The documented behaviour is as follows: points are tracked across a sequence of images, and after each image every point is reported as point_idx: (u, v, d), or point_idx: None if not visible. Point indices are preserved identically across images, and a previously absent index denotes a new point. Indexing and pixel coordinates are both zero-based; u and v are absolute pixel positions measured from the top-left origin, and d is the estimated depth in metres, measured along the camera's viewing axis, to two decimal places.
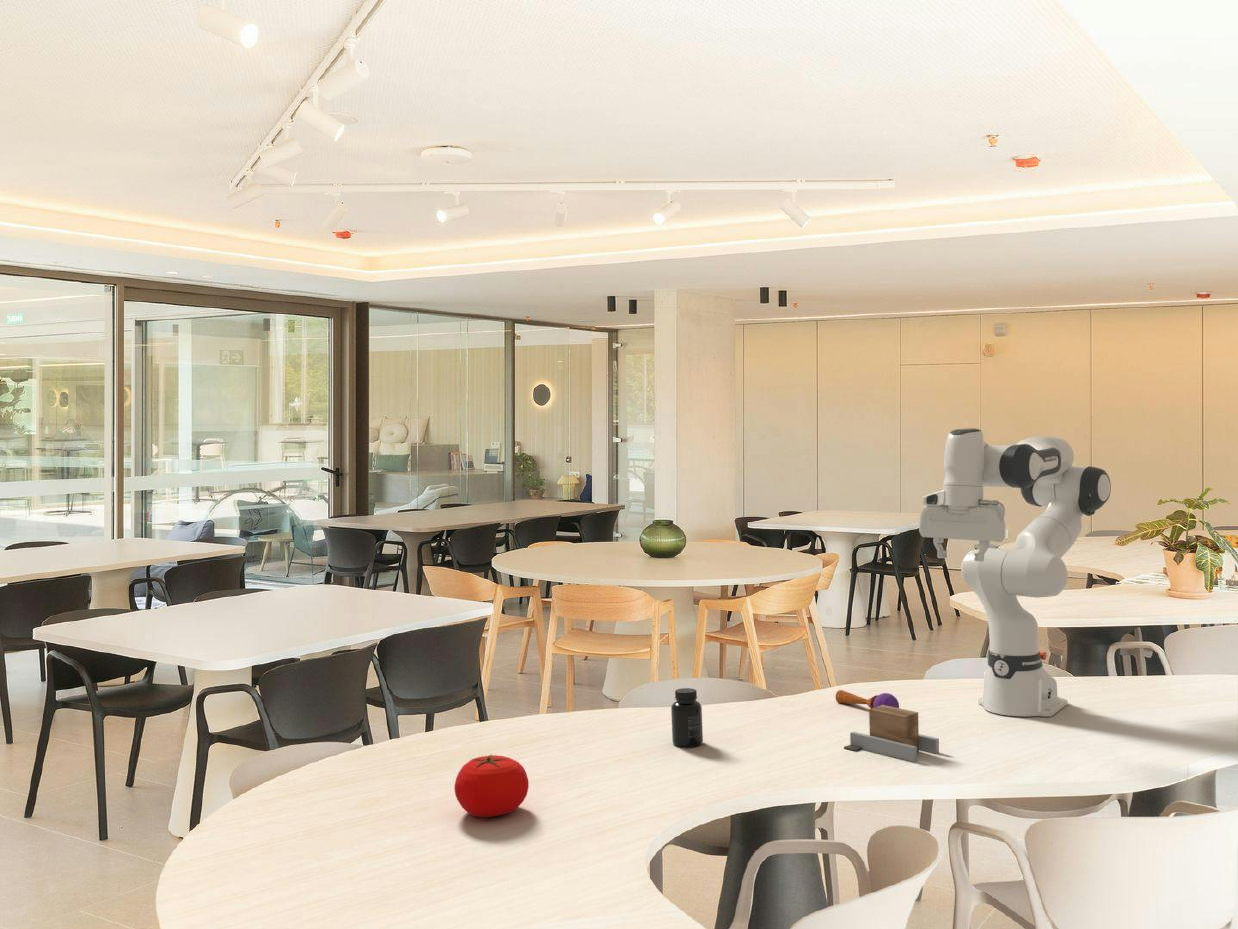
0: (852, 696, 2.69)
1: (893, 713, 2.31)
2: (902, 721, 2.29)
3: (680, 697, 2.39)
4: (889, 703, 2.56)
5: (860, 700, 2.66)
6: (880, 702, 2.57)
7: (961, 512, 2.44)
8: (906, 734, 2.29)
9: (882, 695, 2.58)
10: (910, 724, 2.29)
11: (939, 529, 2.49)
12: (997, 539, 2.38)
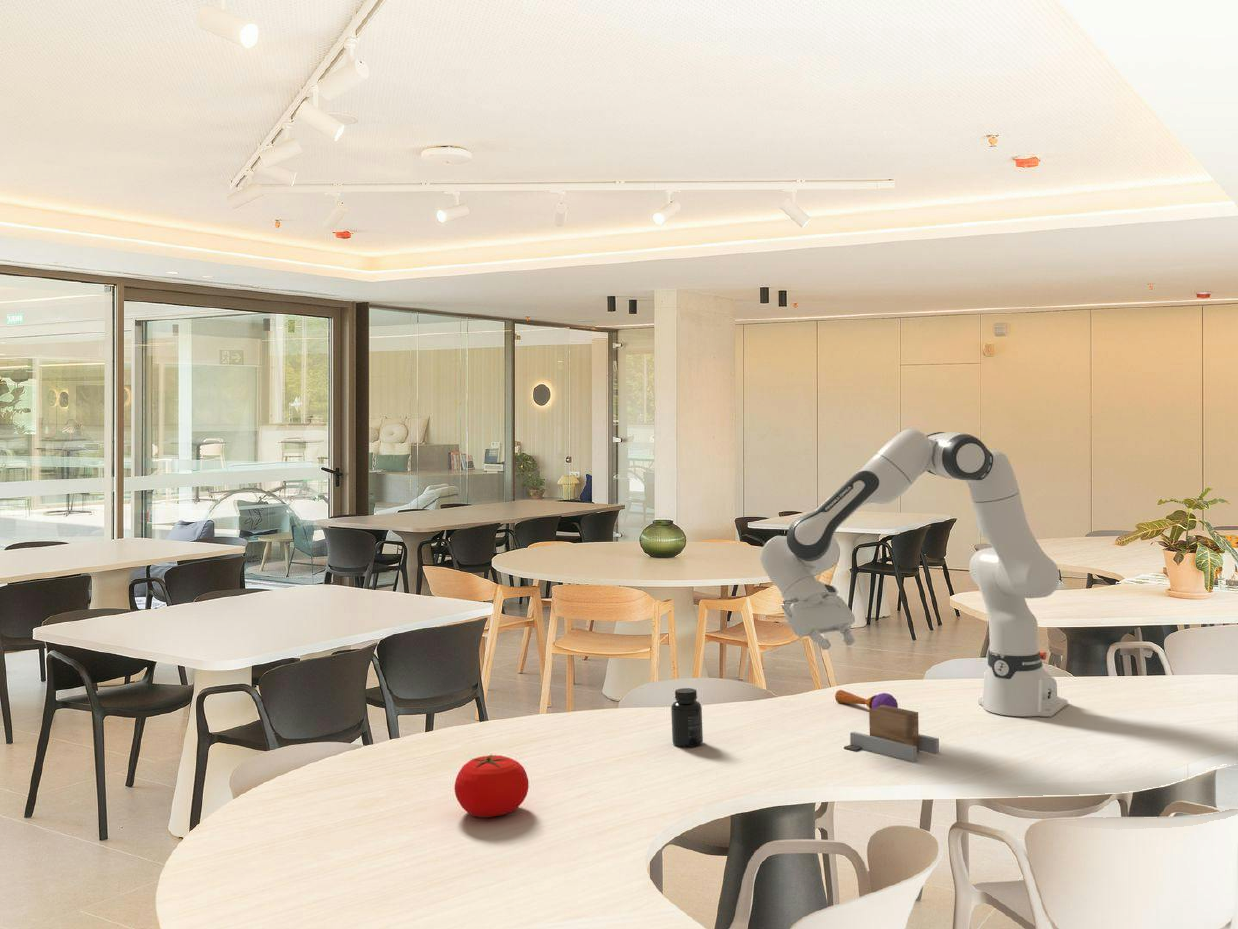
0: (852, 696, 2.69)
1: (893, 713, 2.31)
2: (902, 721, 2.29)
3: (680, 697, 2.39)
4: (888, 703, 2.56)
5: (859, 700, 2.66)
6: (879, 702, 2.57)
7: None
8: (906, 734, 2.29)
9: (881, 695, 2.58)
10: (910, 724, 2.29)
11: None
12: (798, 635, 2.42)
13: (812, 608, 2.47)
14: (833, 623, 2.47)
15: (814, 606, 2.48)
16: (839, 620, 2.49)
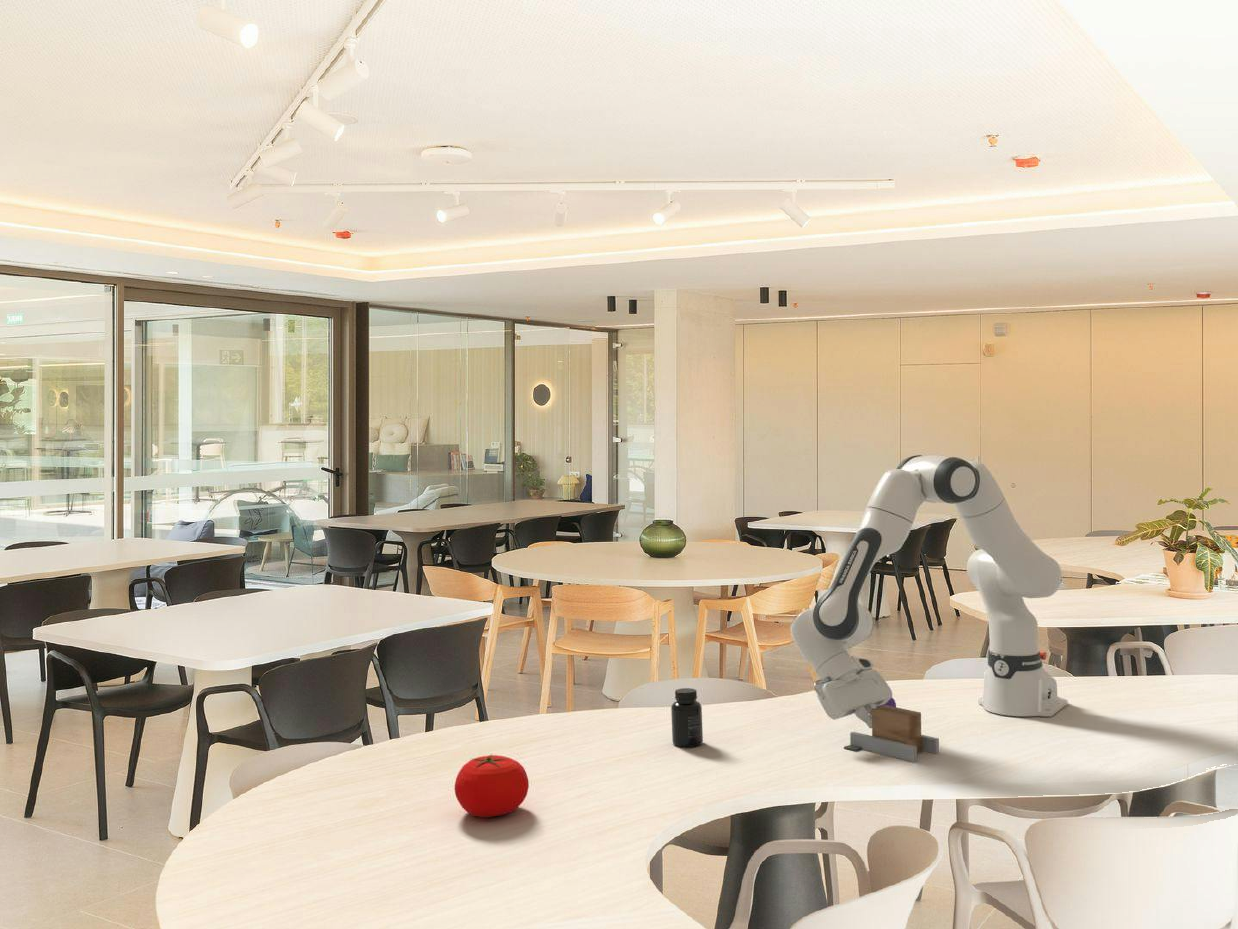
0: None
1: (896, 713, 2.31)
2: (904, 721, 2.28)
3: (680, 697, 2.39)
4: (886, 703, 2.56)
5: None
6: None
7: None
8: (909, 734, 2.28)
9: None
10: (912, 724, 2.29)
11: None
12: (832, 717, 2.34)
13: (846, 687, 2.39)
14: (869, 701, 2.39)
15: (848, 684, 2.40)
16: (875, 697, 2.41)
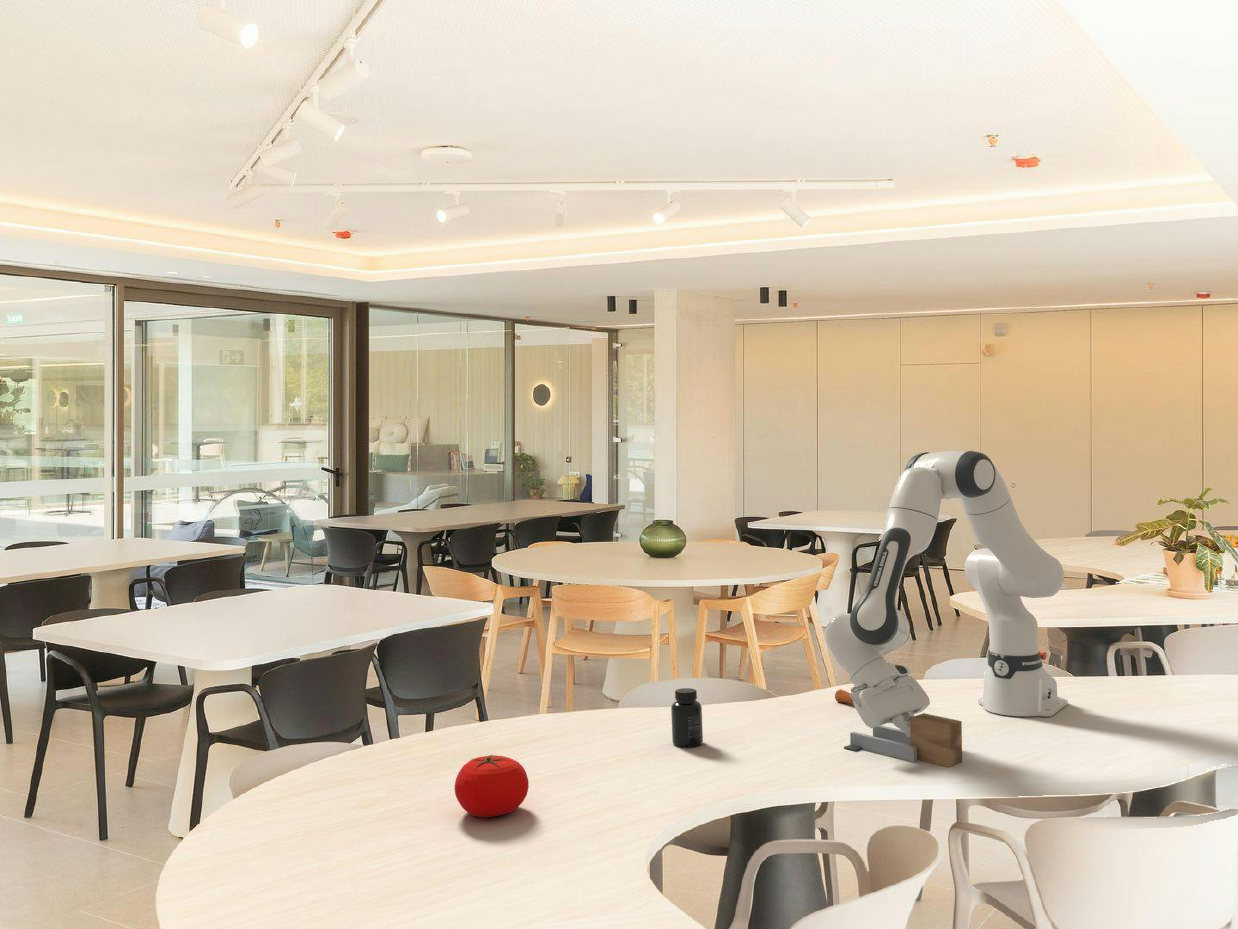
0: None
1: (936, 722, 2.23)
2: (945, 730, 2.21)
3: (680, 697, 2.39)
4: None
5: None
6: None
7: None
8: (949, 744, 2.21)
9: None
10: (953, 733, 2.22)
11: None
12: (869, 726, 2.26)
13: (882, 694, 2.32)
14: (906, 709, 2.31)
15: (885, 691, 2.32)
16: (913, 705, 2.33)
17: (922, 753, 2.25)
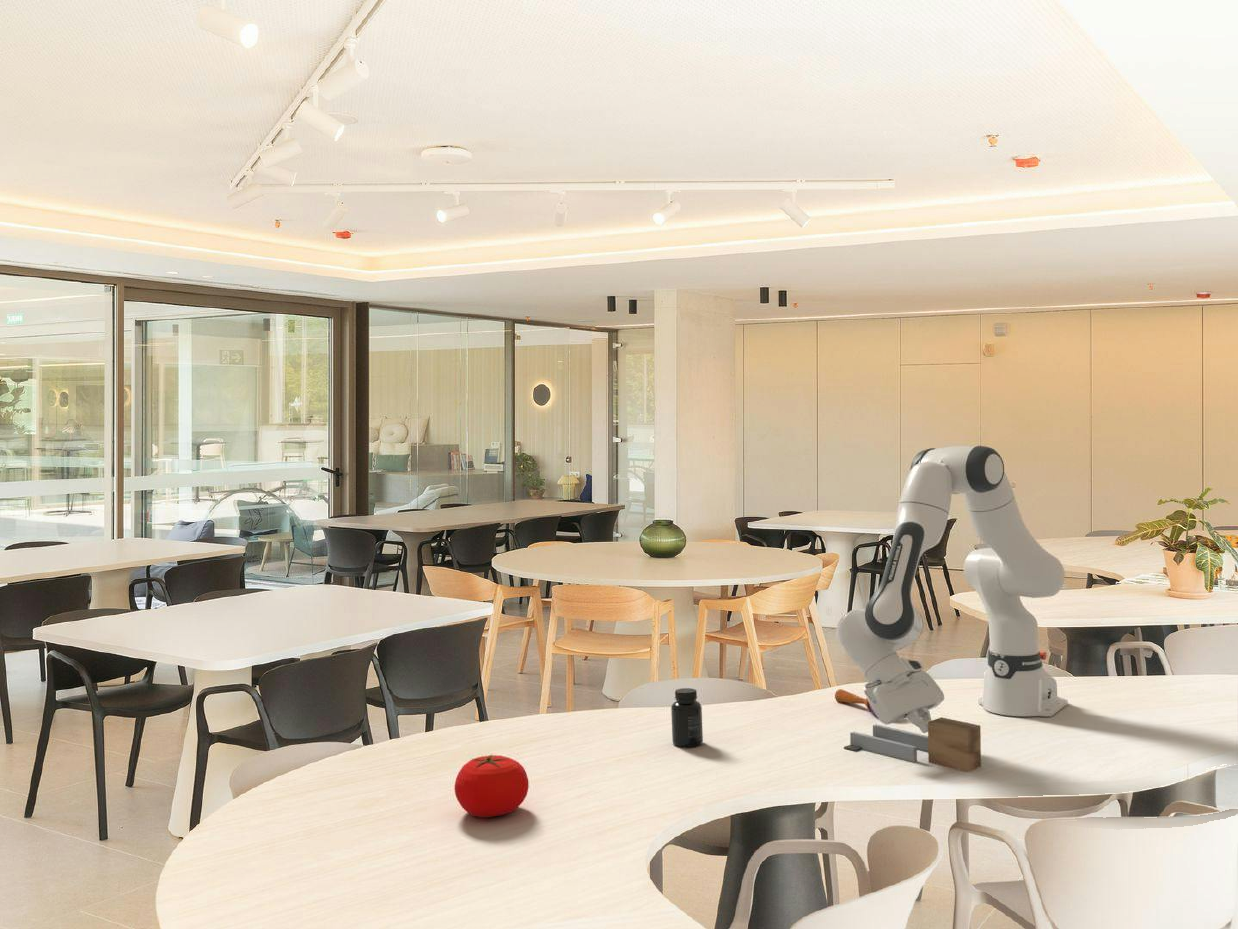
0: (851, 695, 2.70)
1: (954, 726, 2.20)
2: (964, 735, 2.18)
3: (680, 697, 2.39)
4: None
5: (858, 699, 2.67)
6: None
7: None
8: (968, 749, 2.18)
9: None
10: (972, 738, 2.18)
11: None
12: (884, 722, 2.24)
13: (897, 690, 2.29)
14: (921, 705, 2.29)
15: (899, 687, 2.30)
16: (928, 701, 2.31)
17: (940, 758, 2.22)
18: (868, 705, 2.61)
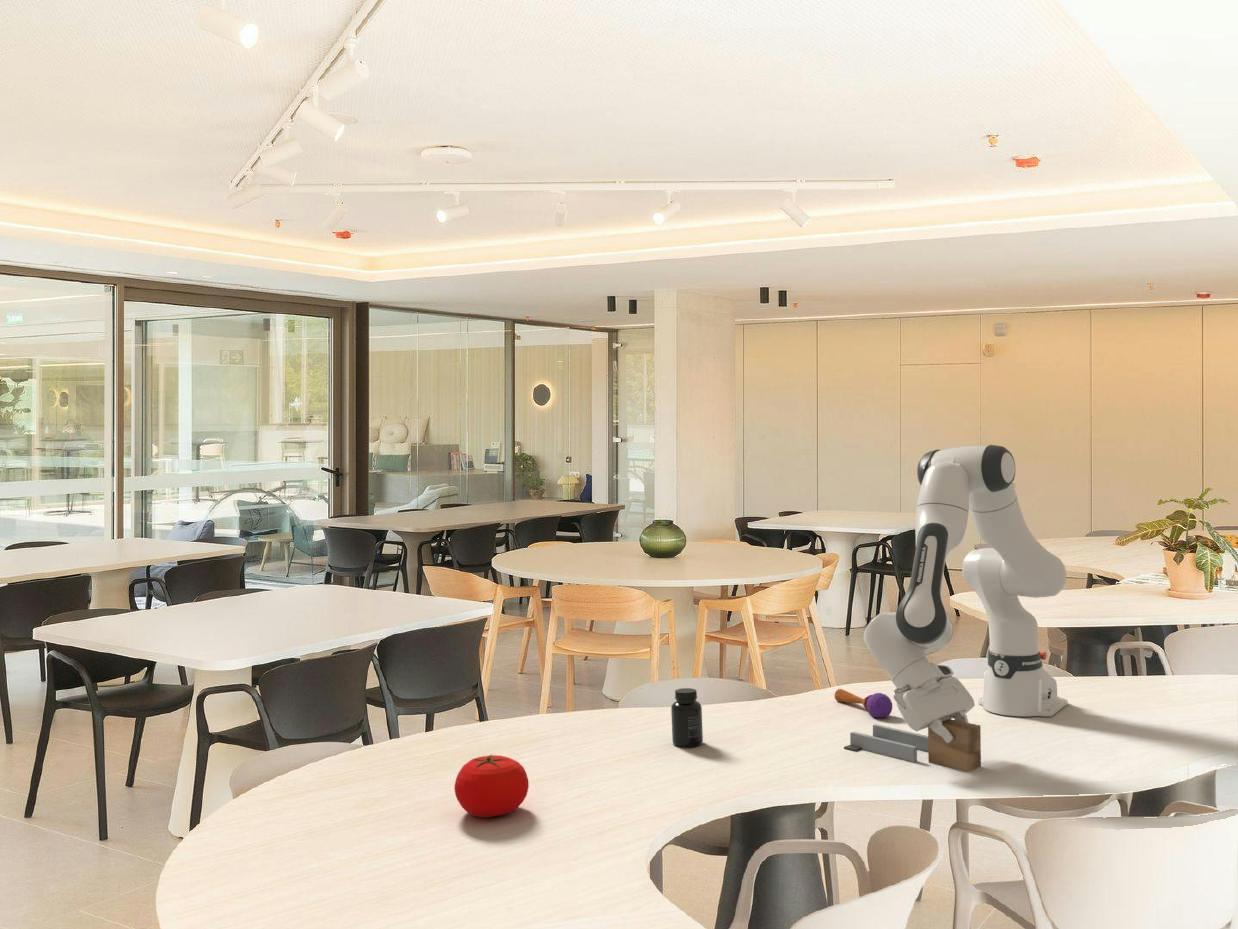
0: (849, 695, 2.70)
1: (954, 726, 2.20)
2: (964, 735, 2.18)
3: (680, 697, 2.39)
4: (881, 703, 2.57)
5: (856, 699, 2.67)
6: (873, 702, 2.58)
7: None
8: (968, 749, 2.18)
9: (875, 695, 2.59)
10: (972, 738, 2.18)
11: None
12: (914, 729, 2.18)
13: (927, 696, 2.23)
14: (951, 711, 2.23)
15: (929, 693, 2.24)
16: (958, 707, 2.25)
17: (940, 758, 2.22)
18: (865, 705, 2.62)
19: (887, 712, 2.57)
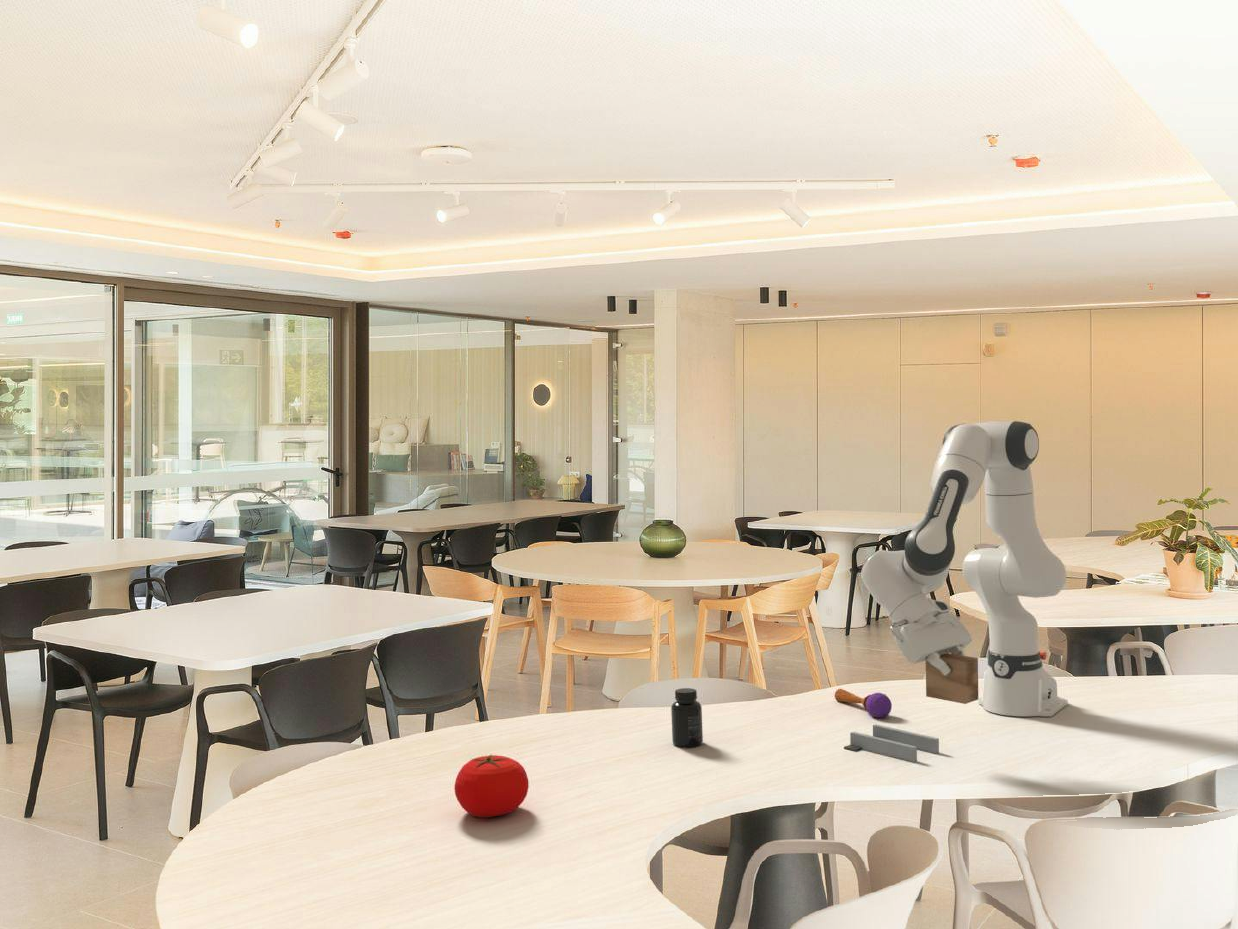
0: (849, 695, 2.70)
1: (952, 659, 2.20)
2: (961, 667, 2.18)
3: (680, 697, 2.39)
4: (881, 703, 2.57)
5: (856, 699, 2.67)
6: (872, 702, 2.58)
7: None
8: (966, 680, 2.18)
9: (874, 695, 2.59)
10: (969, 670, 2.19)
11: None
12: (911, 661, 2.18)
13: (924, 630, 2.24)
14: (949, 645, 2.23)
15: (926, 627, 2.24)
16: (955, 641, 2.25)
17: (937, 691, 2.22)
18: (865, 705, 2.62)
19: (886, 712, 2.57)
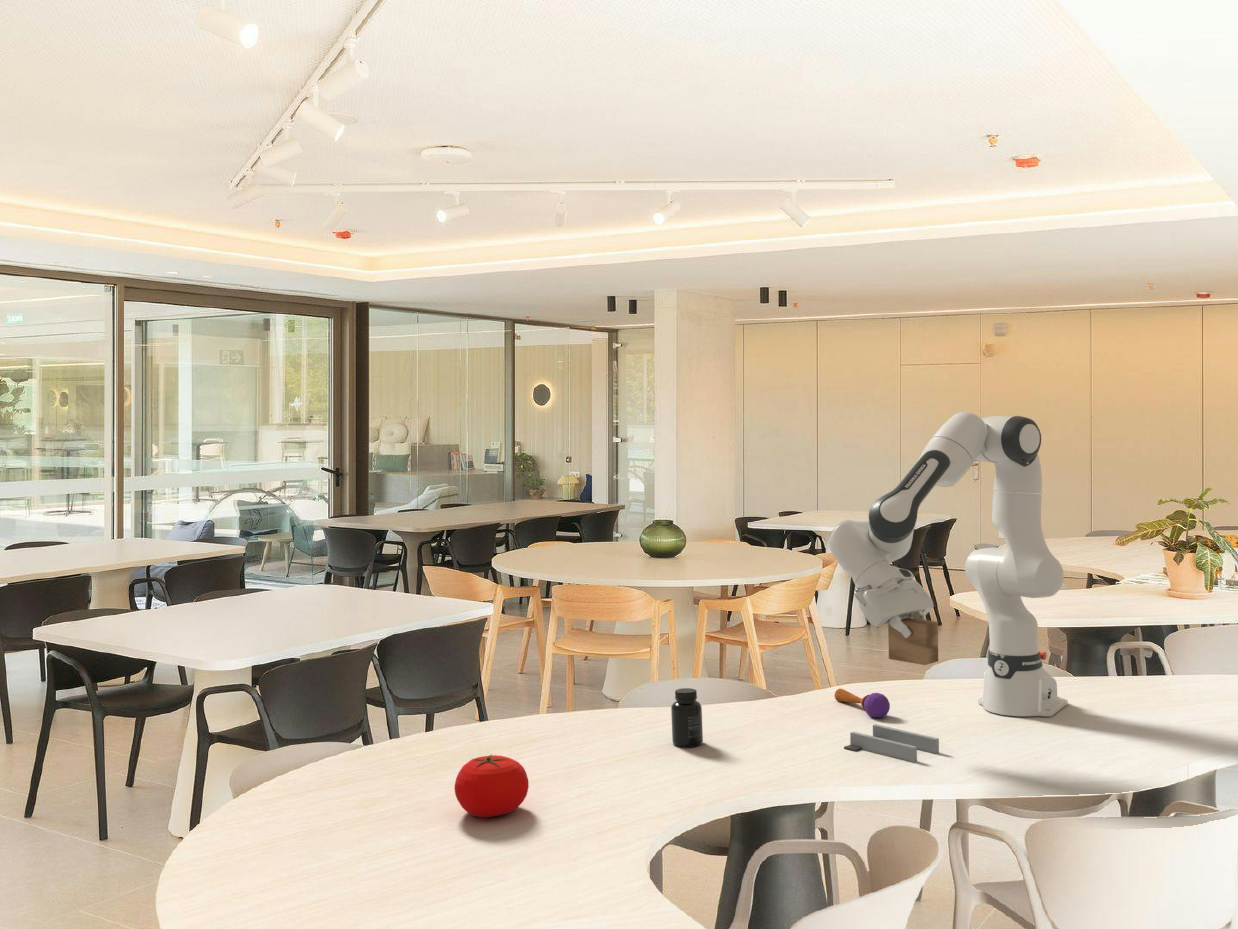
0: (849, 695, 2.70)
1: (912, 622, 2.30)
2: (921, 629, 2.28)
3: (680, 697, 2.39)
4: (878, 703, 2.57)
5: (855, 699, 2.67)
6: (869, 702, 2.58)
7: None
8: (925, 642, 2.28)
9: (872, 695, 2.59)
10: (929, 632, 2.28)
11: None
12: (873, 624, 2.28)
13: (887, 595, 2.33)
14: (910, 610, 2.33)
15: (889, 592, 2.34)
16: (917, 606, 2.35)
17: (899, 654, 2.32)
18: (863, 705, 2.62)
19: (884, 712, 2.57)
